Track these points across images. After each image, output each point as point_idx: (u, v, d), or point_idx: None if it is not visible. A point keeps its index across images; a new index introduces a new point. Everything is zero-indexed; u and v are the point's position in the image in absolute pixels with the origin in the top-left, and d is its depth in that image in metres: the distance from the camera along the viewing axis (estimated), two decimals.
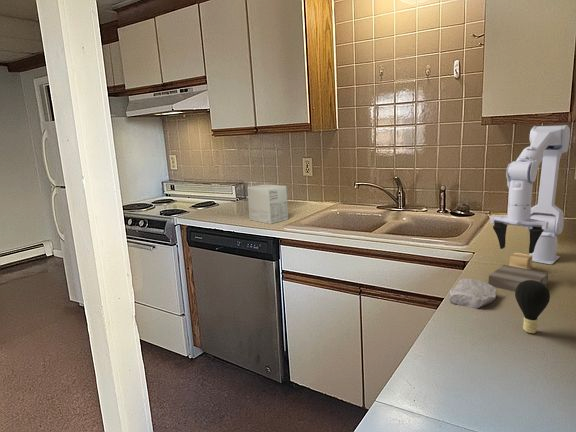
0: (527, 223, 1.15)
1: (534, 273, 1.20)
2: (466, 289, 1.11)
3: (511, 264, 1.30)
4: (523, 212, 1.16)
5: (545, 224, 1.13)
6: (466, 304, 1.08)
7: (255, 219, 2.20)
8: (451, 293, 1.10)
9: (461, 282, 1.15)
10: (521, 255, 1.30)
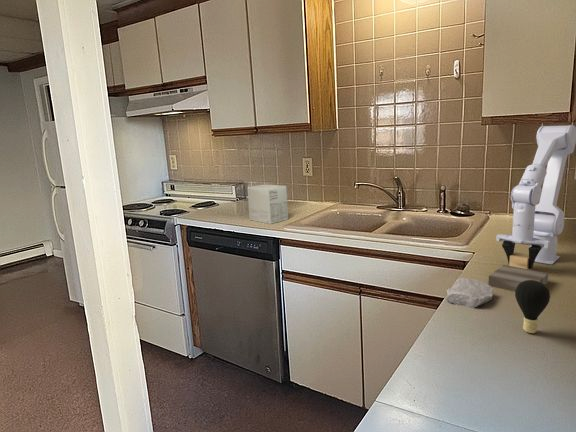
0: (530, 242, 1.25)
1: (534, 273, 1.20)
2: (464, 288, 1.12)
3: (511, 264, 1.30)
4: (526, 231, 1.25)
5: (547, 243, 1.23)
6: (463, 303, 1.09)
7: (255, 219, 2.20)
8: (448, 292, 1.11)
9: (458, 281, 1.16)
10: (521, 255, 1.30)
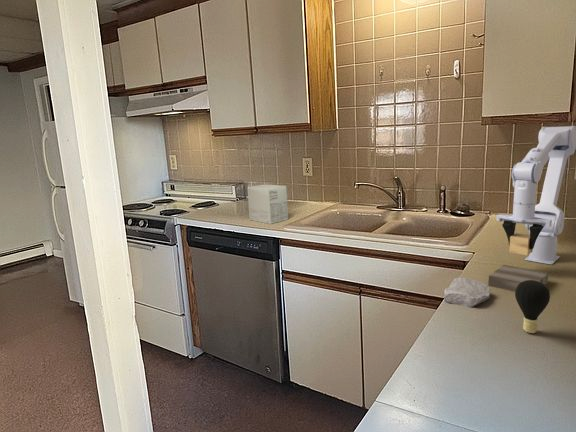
0: (531, 221, 1.22)
1: (534, 273, 1.20)
2: (461, 288, 1.12)
3: (511, 244, 1.26)
4: (527, 210, 1.22)
5: (548, 222, 1.20)
6: (460, 303, 1.09)
7: (255, 219, 2.20)
8: (446, 292, 1.11)
9: (455, 281, 1.16)
10: (522, 235, 1.26)
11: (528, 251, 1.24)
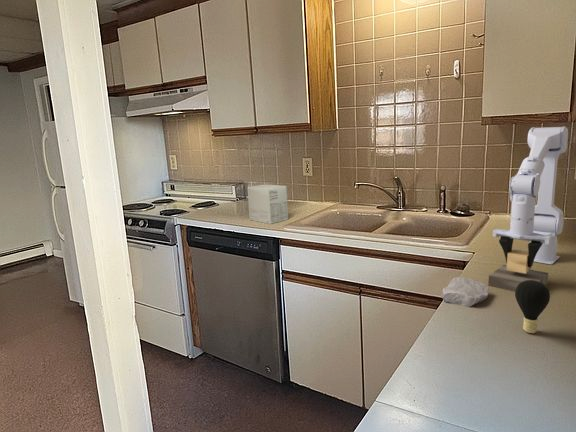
0: (530, 237, 1.14)
1: (534, 273, 1.20)
2: (459, 288, 1.12)
3: (509, 262, 1.19)
4: (525, 226, 1.14)
5: (548, 239, 1.12)
6: (459, 302, 1.09)
7: (255, 219, 2.20)
8: (444, 292, 1.11)
9: (454, 281, 1.16)
10: (520, 252, 1.19)
11: (527, 269, 1.17)
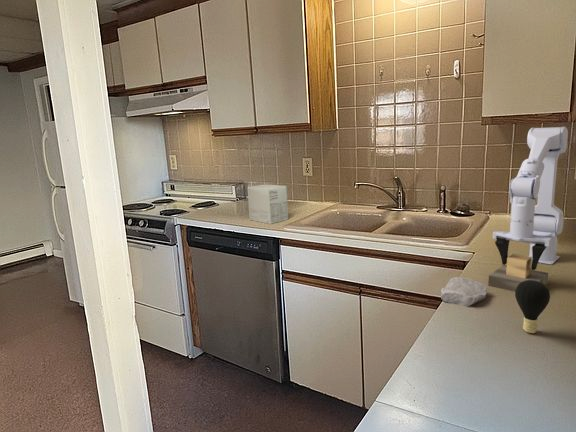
0: (530, 240, 1.14)
1: (534, 273, 1.20)
2: (458, 287, 1.12)
3: (509, 266, 1.19)
4: (525, 228, 1.14)
5: (548, 241, 1.12)
6: (457, 302, 1.10)
7: (255, 219, 2.20)
8: (442, 291, 1.12)
9: (452, 280, 1.17)
10: (520, 257, 1.19)
11: (526, 274, 1.17)
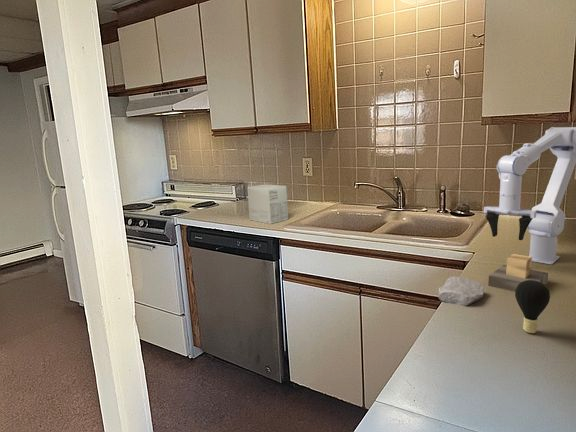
0: (517, 212, 1.25)
1: (534, 273, 1.20)
2: (455, 287, 1.13)
3: (509, 266, 1.19)
4: (513, 202, 1.26)
5: (533, 213, 1.23)
6: (455, 301, 1.10)
7: (255, 219, 2.20)
8: (440, 291, 1.12)
9: (449, 280, 1.17)
10: (520, 257, 1.19)
11: (526, 274, 1.17)
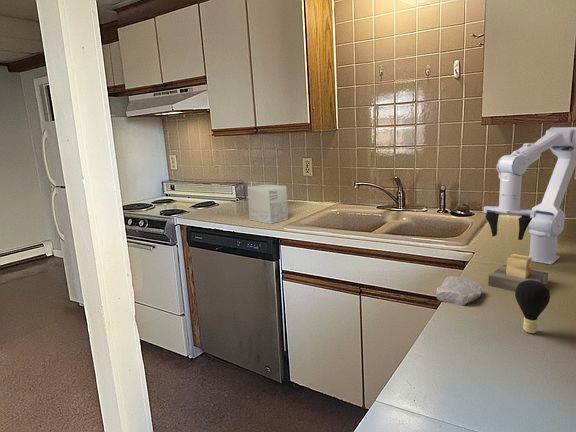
0: (516, 212, 1.26)
1: (534, 273, 1.20)
2: (453, 287, 1.13)
3: (509, 266, 1.19)
4: (512, 201, 1.26)
5: (533, 213, 1.24)
6: (453, 301, 1.10)
7: (255, 219, 2.20)
8: (438, 291, 1.12)
9: (447, 280, 1.17)
10: (520, 257, 1.19)
11: (526, 274, 1.17)
